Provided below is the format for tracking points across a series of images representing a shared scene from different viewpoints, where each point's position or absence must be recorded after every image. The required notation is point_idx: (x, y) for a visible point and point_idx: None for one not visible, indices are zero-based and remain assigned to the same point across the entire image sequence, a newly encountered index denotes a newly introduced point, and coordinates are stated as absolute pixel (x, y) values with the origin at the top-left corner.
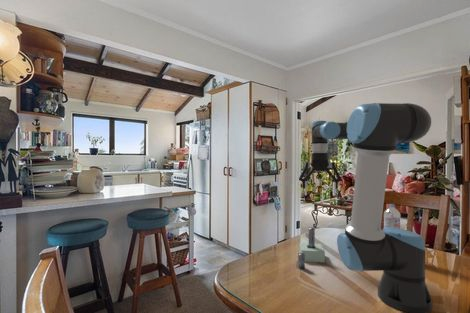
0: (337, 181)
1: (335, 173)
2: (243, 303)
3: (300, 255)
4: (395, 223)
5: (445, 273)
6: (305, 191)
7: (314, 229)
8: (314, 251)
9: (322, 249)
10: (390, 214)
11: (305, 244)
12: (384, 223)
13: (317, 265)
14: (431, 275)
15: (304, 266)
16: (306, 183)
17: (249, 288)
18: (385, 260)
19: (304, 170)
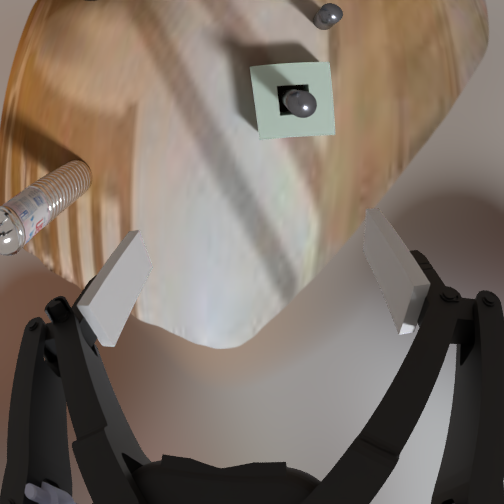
0: (54, 304)
1: (44, 398)
2: None
3: (334, 4)
4: (12, 198)
5: (16, 124)
6: (389, 225)
7: (288, 99)
8: (285, 63)
9: (256, 83)
10: (2, 212)
11: (315, 121)
12: (37, 212)
13: (275, 44)
14: (33, 100)
15: (315, 15)
16: (412, 275)
17: None
18: None
19: (500, 418)
